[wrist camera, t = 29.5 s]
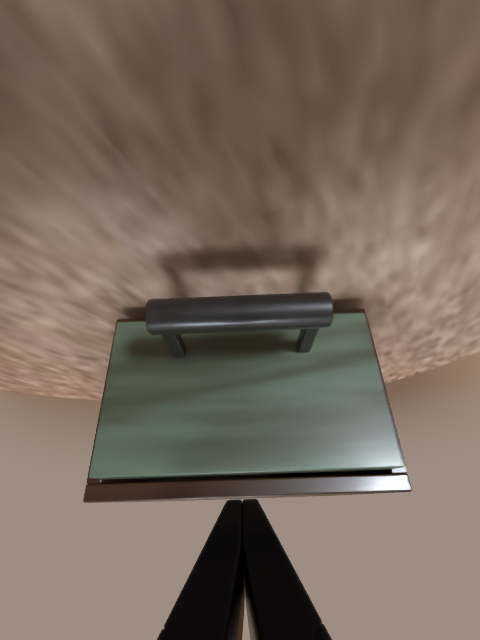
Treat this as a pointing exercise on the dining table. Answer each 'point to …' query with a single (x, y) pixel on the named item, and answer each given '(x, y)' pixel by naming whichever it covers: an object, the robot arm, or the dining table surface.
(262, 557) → the robot arm
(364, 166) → the dining table surface
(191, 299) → the drawer
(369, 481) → the cabinet
